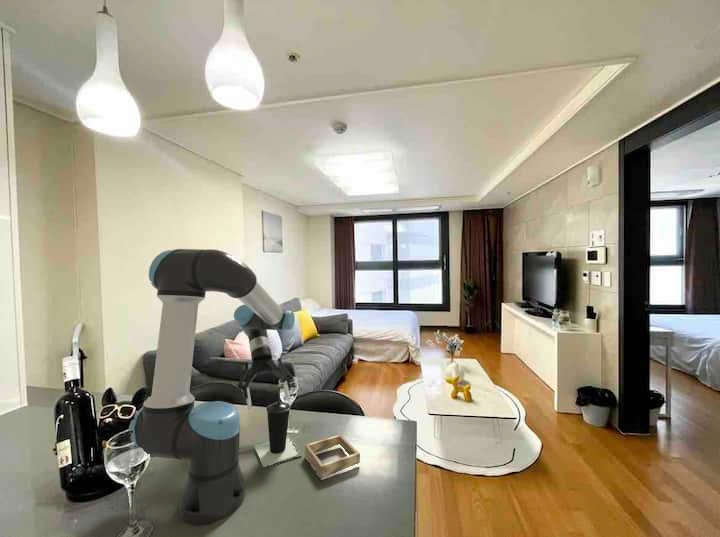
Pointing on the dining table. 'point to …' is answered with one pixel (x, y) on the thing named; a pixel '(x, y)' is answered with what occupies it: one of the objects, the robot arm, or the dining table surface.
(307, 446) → the oak crate frame
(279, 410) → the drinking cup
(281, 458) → the sage mat
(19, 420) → the dining table surface
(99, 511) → the dining table surface
